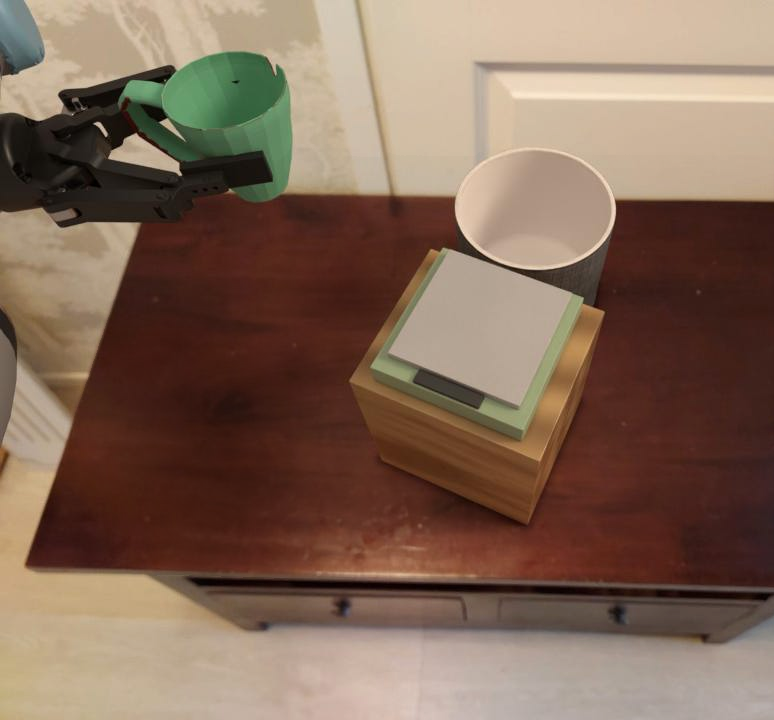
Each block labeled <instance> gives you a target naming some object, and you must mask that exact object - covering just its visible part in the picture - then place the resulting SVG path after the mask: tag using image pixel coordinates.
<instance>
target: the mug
mask: <svg viewBox="0 0 774 720" xmlns="http://www.w3.org/2000/svg"><path fill="white" fill-rule="evenodd" d="M238 80H240V81H239V82H238V83H237V84H236V83H233V82H232V81H238ZM140 104H146V105H150V106H154V107H158V108H161V109H163V111H164V113H165V115H166V116H167V119H168V121H169V123H170V124H171V125H172V126H173V127H174V129H175V130H176V131H177V133H178V134H179V135H180V136H181V137H180V136H179V135H177V133H175V132H173V131H172V130H170V129H169V128H168V127H166V125H164V124H162V123H161V122H158V121H156V120H154V119H152V118H150V117H148V115H147V114H146V112H145V111H144V110H143V108H142V107H141V106H140ZM118 106H119V109H120V111H121V112H122V114H123V115H124V116H125V118H126V119H127V121H128V122H129V123H130V125H131V126H132V128H133V129H134V130H135V132H136V135H137V136H138V138H140V139H142V140H143V141H145V142H146V143H148V144H149V145H151V146H152V147H154V148H155V149H157V150H158V151H160V152H162V153H163V154H165V156H168V158H171V159H172V160H174V161H175V162H177V163H178V164H179V163H182V162H189V161H195V160H202V159H209V158H215V157H222V156H229V155H238V154H242V153H248V152H255V151H261V150H263V152H264V154H265V157H266V159H267V162H268V164H269V167H270V169H271V172H272V174H273V182H269V183H262V184H256V185H250V186H243V187H237V188H230V189H229V190H231V191H232V192H233V193H234V194H235V195H237V196H238V197H239V198H241V199H242V200H244V201H246V202H251V203H265V202H268V201H272V200H273V199H276V198H278V197H279V196H280V195H281V194H283V193H284V192H285V190H286V189H287V187H288V184H289V179H290V173H291V165H292V158H293V142H294V141H293V139H294V138H293V136H294V135H293V124H292V114H291V113H292V111H291V110H292V109H291V90H290V86H289V83H288V80H287V77H286V73H285V70H284V69H283V67H281V66H280V65H279V64H278V63H275V70H274V68H273V64H272V63H271V61H270V60H269V58H268V57H267V56H266V55H264V54H262V53H257V52H252V51H247V50H232V51H231V50H229V51H228V50H227V51H226V50H225V51H221V52H216V53H211V54H207V55H204V56H202V57H200V58H198V59H194V60H193V61H190V62H188V63H186V64H185V65H184V66H182V67H181V68H179V69H178V70H177V71H176V72H175V73H174V75H173V76H172V77H171V78H170V79H169V80H168V81H167V83H166V84H165V85H163V84H159V83H155V82H151V81H139V80H132V81H130V82H129V83H128V84H127V85H126V87H125V89H124V91H123V92H122V94H121V96H120V98H119V102H118Z"/></svg>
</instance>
